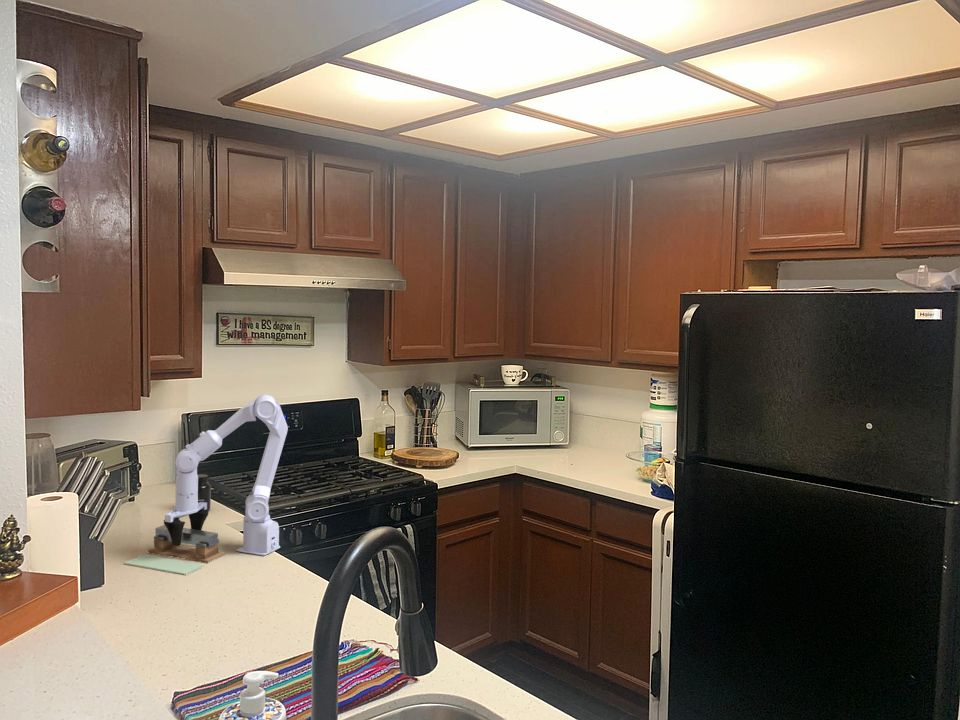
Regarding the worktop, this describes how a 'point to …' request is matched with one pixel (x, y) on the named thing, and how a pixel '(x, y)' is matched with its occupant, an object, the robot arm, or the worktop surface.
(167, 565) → the rubber mat
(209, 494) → the supplement bottle
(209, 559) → the wooden stand
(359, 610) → the worktop surface
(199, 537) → the steel rail
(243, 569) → the worktop surface
